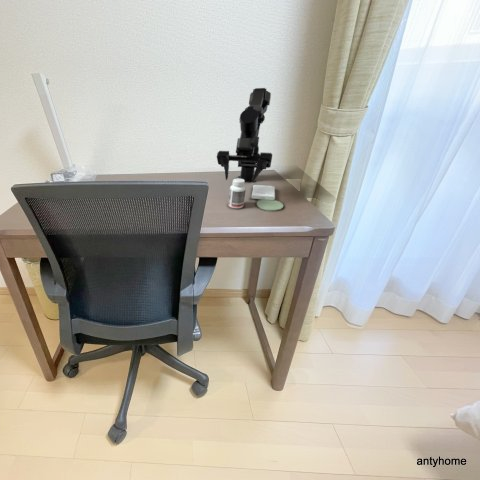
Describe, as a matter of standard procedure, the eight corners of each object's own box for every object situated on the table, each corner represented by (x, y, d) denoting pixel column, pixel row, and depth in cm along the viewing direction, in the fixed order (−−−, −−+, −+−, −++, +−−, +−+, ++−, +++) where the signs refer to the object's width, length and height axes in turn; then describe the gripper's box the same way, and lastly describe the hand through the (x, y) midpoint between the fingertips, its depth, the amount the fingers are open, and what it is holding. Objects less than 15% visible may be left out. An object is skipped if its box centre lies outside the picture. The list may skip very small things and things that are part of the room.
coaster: (254, 200, 97) (254, 199, 97) (278, 200, 96) (279, 199, 96) (259, 211, 90) (259, 209, 89) (286, 210, 89) (286, 209, 89)
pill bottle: (246, 206, 94) (250, 180, 88) (236, 210, 91) (239, 184, 86) (235, 201, 97) (238, 176, 92) (225, 205, 95) (227, 180, 90)
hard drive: (273, 190, 105) (274, 200, 95) (252, 188, 108) (251, 198, 98) (274, 186, 104) (275, 196, 94) (253, 184, 107) (251, 194, 97)
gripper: (219, 127, 90) (210, 167, 87) (277, 127, 83) (269, 171, 80) (222, 145, 100) (214, 182, 97) (274, 147, 93) (266, 186, 90)
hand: (239, 180), depth 91 cm, fingers open, 9 cm apart
